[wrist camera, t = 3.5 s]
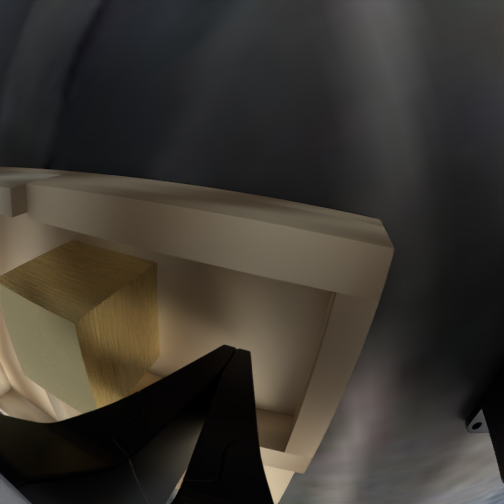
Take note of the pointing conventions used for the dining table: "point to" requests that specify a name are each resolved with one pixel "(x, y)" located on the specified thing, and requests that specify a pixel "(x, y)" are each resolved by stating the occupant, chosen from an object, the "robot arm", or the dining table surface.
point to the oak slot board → (215, 290)
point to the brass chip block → (83, 322)
